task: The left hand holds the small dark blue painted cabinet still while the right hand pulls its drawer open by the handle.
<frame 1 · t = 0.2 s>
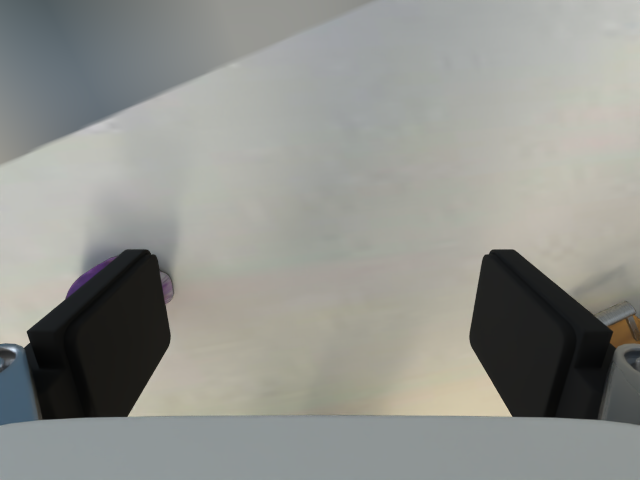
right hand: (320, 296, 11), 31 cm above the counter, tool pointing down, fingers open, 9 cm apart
figurine: (136, 281, 46), on the counter
drawer: (633, 390, 46), point 4 cm above the counter, slide at 0.7 cm
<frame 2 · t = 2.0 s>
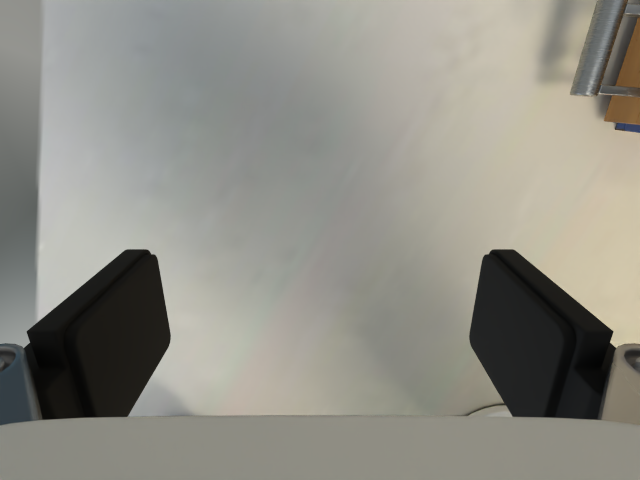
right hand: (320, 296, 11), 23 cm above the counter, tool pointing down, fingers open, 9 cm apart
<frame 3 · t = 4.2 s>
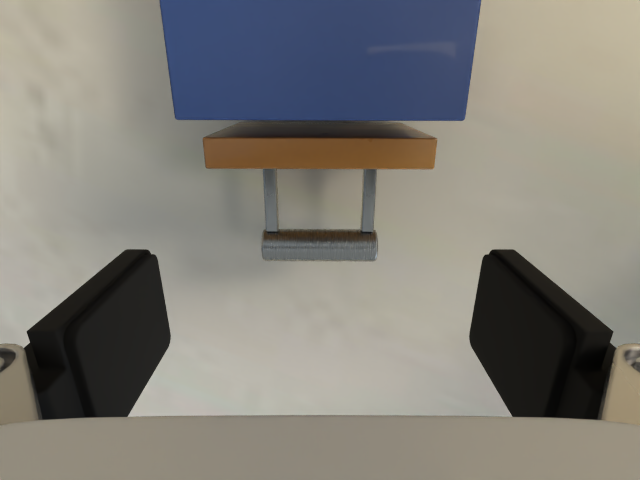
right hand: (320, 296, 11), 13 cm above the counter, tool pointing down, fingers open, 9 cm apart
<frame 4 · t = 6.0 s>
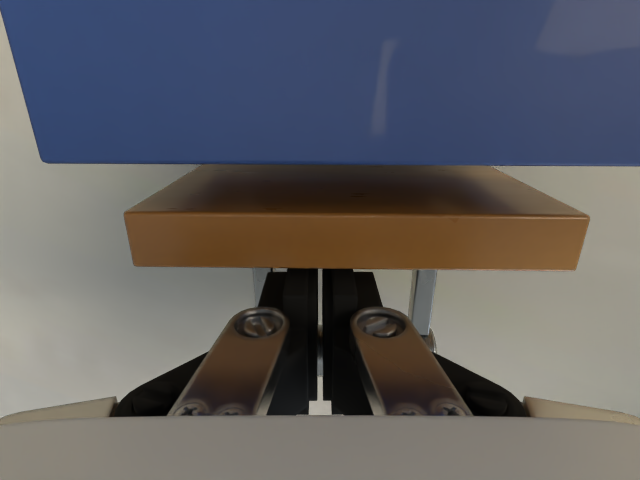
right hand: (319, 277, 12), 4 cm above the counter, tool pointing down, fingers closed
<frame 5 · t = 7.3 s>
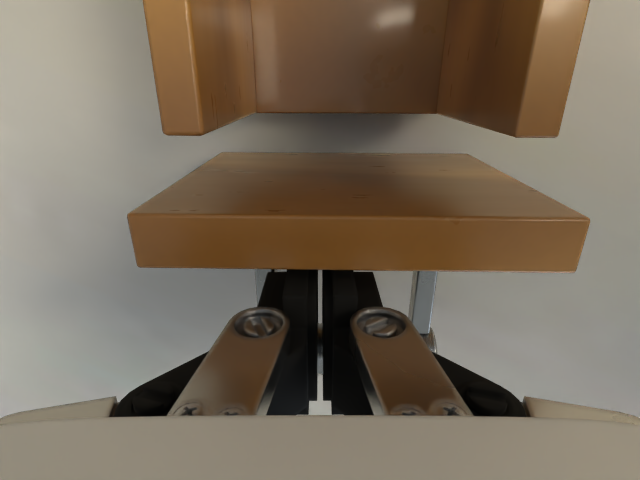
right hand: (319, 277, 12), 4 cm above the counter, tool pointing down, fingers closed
when the left hand's fingers open (4 cm above the counter, at t = 9.0 s): cabinet stays where it is, on the counter.
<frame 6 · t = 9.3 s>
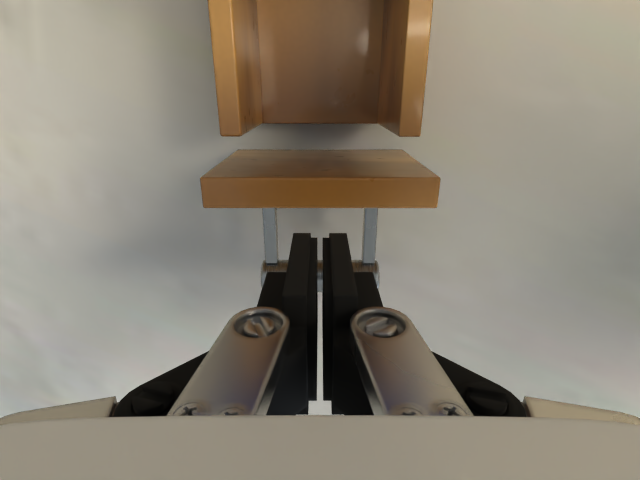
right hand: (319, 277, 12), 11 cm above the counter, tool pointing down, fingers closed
drawer: (320, 1, 15), point 4 cm above the counter, slide at 8.3 cm
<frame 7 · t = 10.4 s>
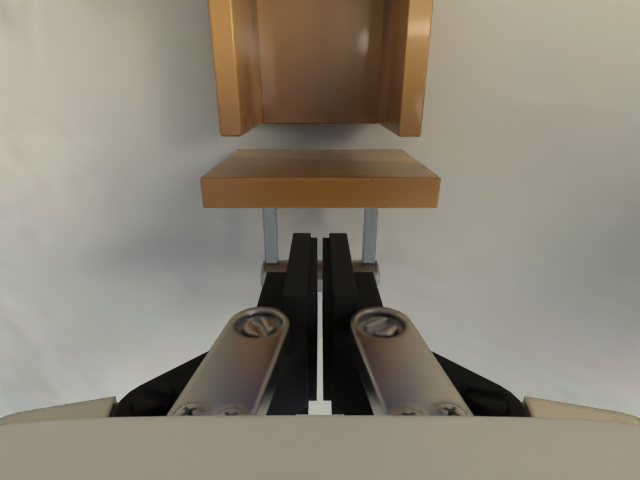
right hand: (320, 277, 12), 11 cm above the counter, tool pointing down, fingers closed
drawer: (320, 1, 15), point 4 cm above the counter, slide at 8.3 cm
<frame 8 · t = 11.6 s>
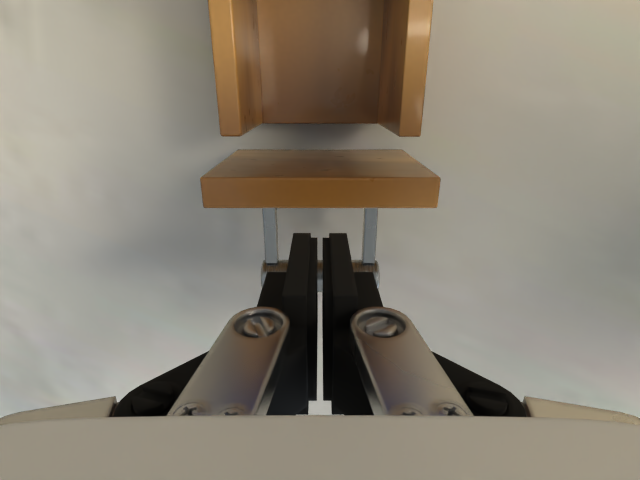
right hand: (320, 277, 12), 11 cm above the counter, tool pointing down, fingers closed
drawer: (320, 1, 15), point 4 cm above the counter, slide at 8.3 cm
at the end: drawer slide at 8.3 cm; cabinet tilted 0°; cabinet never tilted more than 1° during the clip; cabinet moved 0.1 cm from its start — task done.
